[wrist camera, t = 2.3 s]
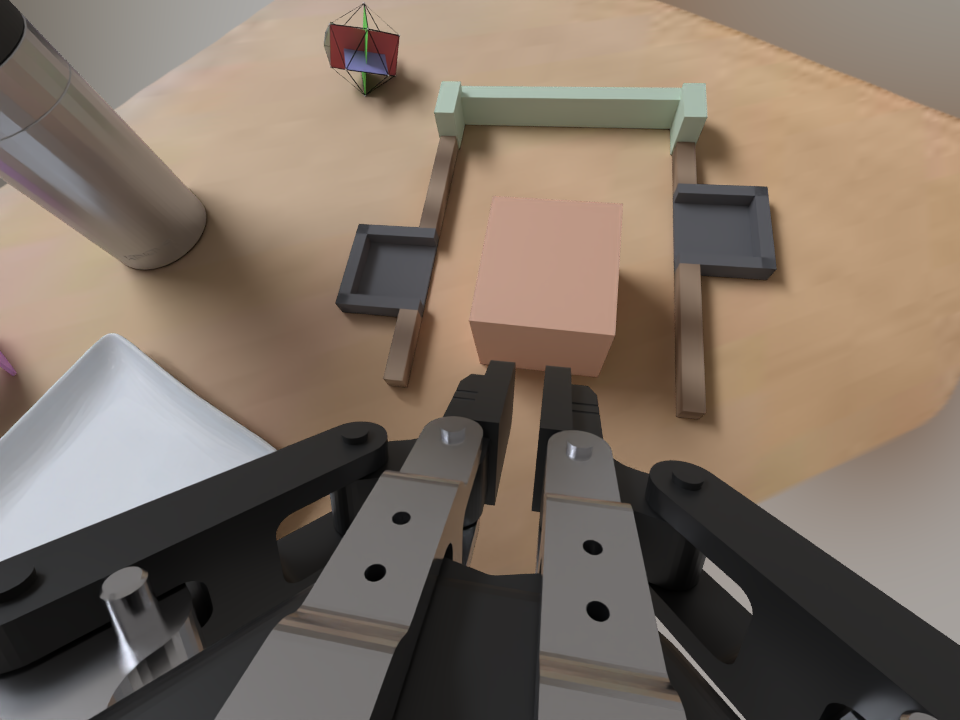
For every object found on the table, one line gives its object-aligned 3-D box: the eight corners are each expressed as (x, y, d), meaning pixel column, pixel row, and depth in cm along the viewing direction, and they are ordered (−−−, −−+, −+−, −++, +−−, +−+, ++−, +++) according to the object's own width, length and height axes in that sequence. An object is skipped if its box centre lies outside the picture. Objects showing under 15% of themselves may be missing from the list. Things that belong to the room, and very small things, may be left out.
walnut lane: (698, 419, 32) (706, 413, 31) (388, 385, 35) (383, 378, 34) (688, 129, 42) (694, 115, 41) (448, 124, 45) (446, 111, 44)
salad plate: (138, 341, 40) (104, 324, 36) (315, 470, 34) (293, 463, 31) (-71, 563, 34) (-133, 565, 31) (98, 766, 28) (43, 795, 25)
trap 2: (421, 318, 37) (417, 310, 36) (342, 311, 38) (335, 303, 37) (438, 239, 40) (435, 228, 39) (364, 234, 41) (358, 224, 40)
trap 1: (766, 279, 36) (776, 269, 34) (674, 273, 37) (679, 263, 35) (758, 199, 38) (767, 186, 37) (672, 196, 39) (678, 183, 38)
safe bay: (691, 155, 41) (707, 117, 37) (441, 148, 44) (434, 112, 41) (689, 117, 43) (705, 77, 39) (450, 113, 46) (443, 75, 42)
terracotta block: (597, 377, 34) (615, 335, 27) (480, 364, 35) (468, 320, 28) (605, 266, 38) (623, 203, 31) (499, 257, 39) (492, 196, 32)
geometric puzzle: (412, 29, 48) (347, -30, 43) (421, 71, 46) (352, 13, 40) (373, 80, 52) (308, 32, 47) (379, 120, 50) (311, 75, 44)
